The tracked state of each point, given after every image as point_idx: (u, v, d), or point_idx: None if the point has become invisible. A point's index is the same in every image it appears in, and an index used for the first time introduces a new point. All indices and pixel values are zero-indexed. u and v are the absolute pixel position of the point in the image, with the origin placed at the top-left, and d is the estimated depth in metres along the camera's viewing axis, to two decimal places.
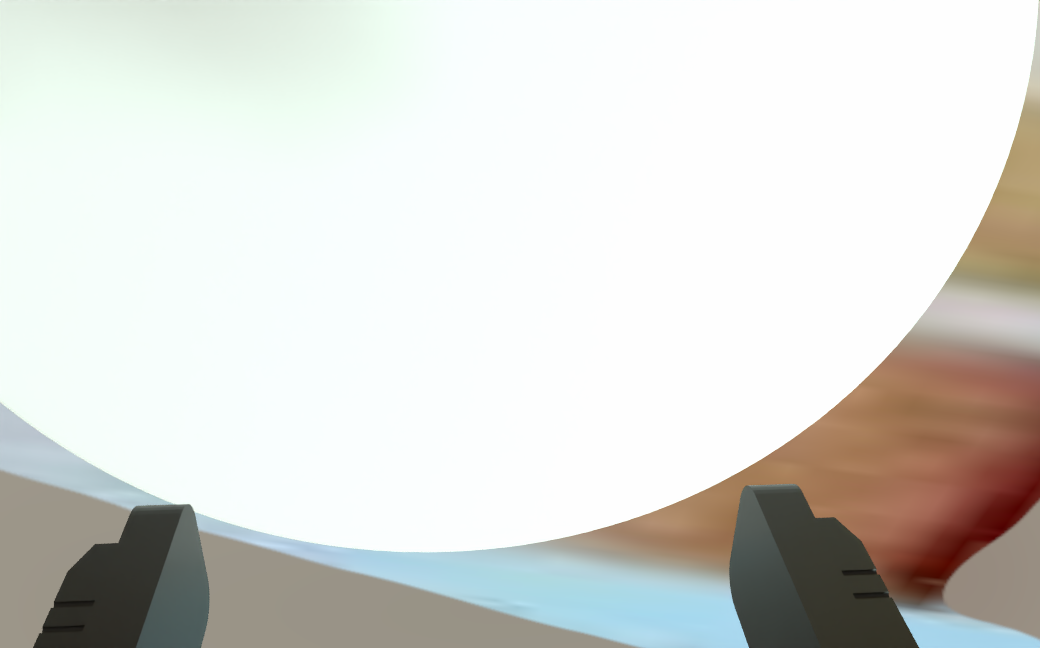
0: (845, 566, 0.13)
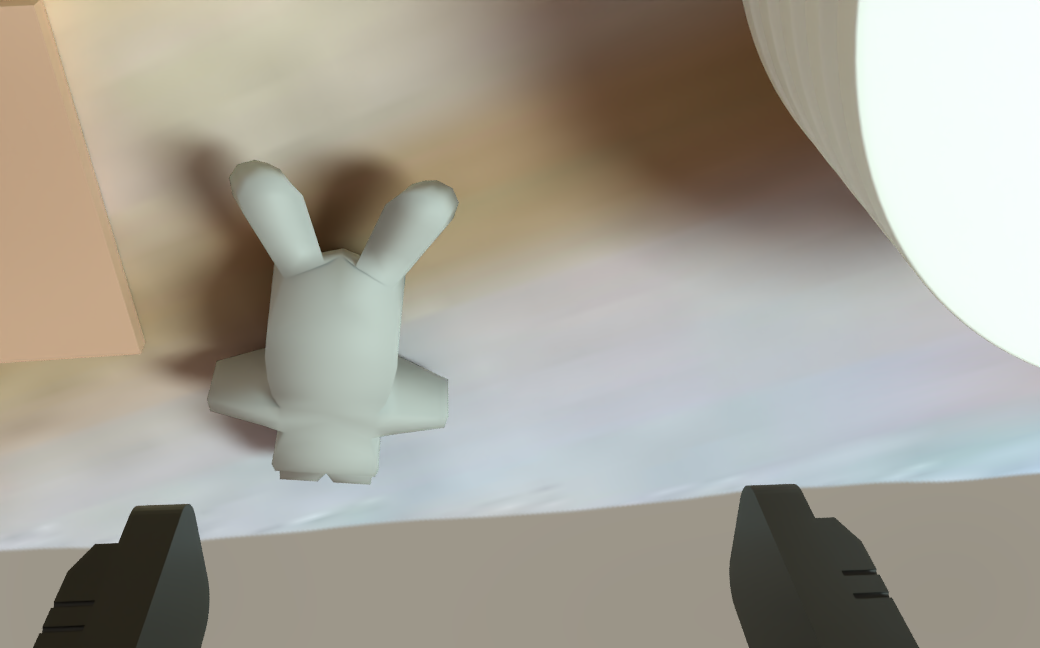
0: (845, 566, 0.13)
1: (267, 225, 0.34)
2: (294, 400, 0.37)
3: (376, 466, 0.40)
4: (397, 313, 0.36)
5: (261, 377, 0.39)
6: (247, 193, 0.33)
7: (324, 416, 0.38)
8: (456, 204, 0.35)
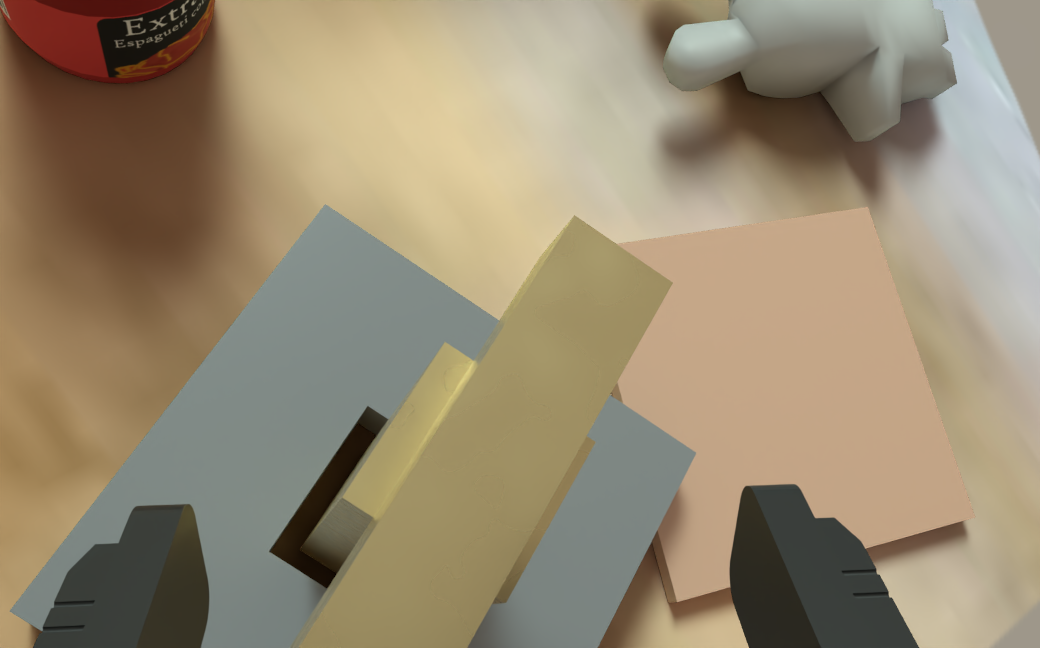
0: (845, 566, 0.13)
1: (715, 51, 0.40)
2: (867, 29, 0.41)
3: None
4: None
5: (857, 88, 0.43)
6: (691, 59, 0.39)
7: (878, 14, 0.42)
8: None
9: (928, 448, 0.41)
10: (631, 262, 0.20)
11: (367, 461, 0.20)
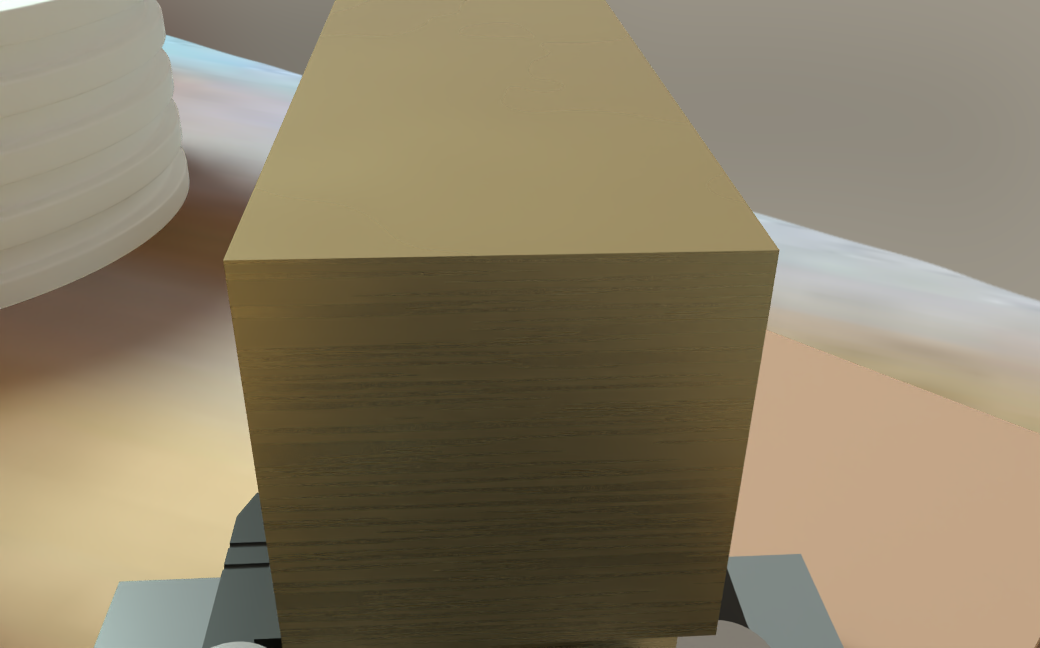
0: None
1: None
2: None
3: None
4: None
5: None
6: None
7: None
8: None
9: (1010, 441, 0.31)
10: None
11: None
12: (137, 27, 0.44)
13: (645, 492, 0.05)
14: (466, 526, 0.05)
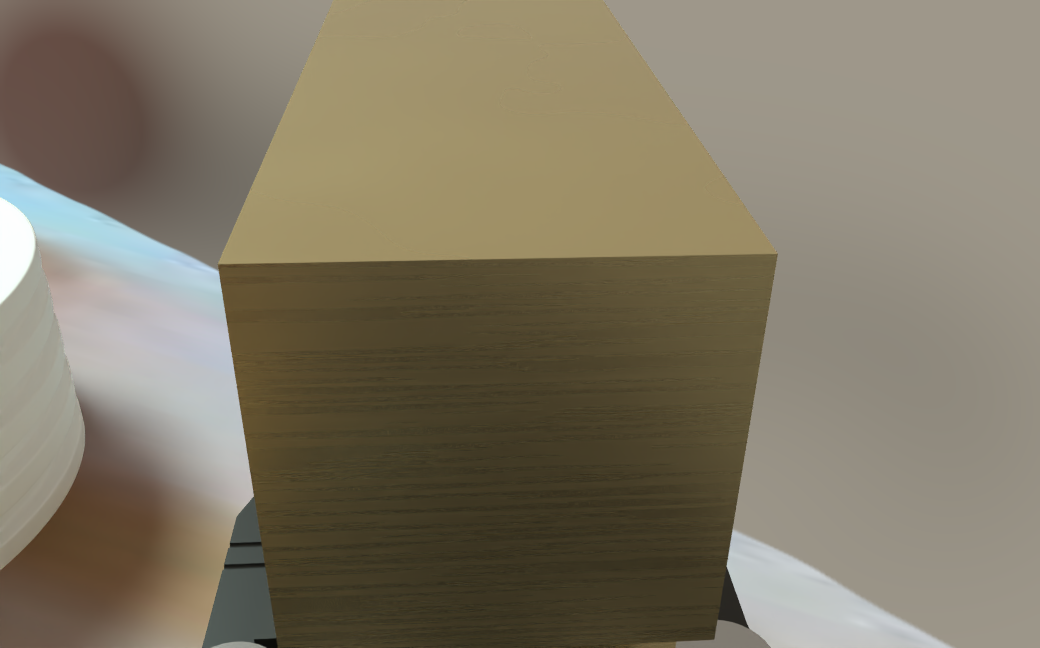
0: None
1: None
2: None
3: None
4: None
5: None
6: None
7: None
8: None
9: None
10: None
11: None
12: (16, 336, 0.44)
13: (643, 496, 0.05)
14: (463, 530, 0.05)
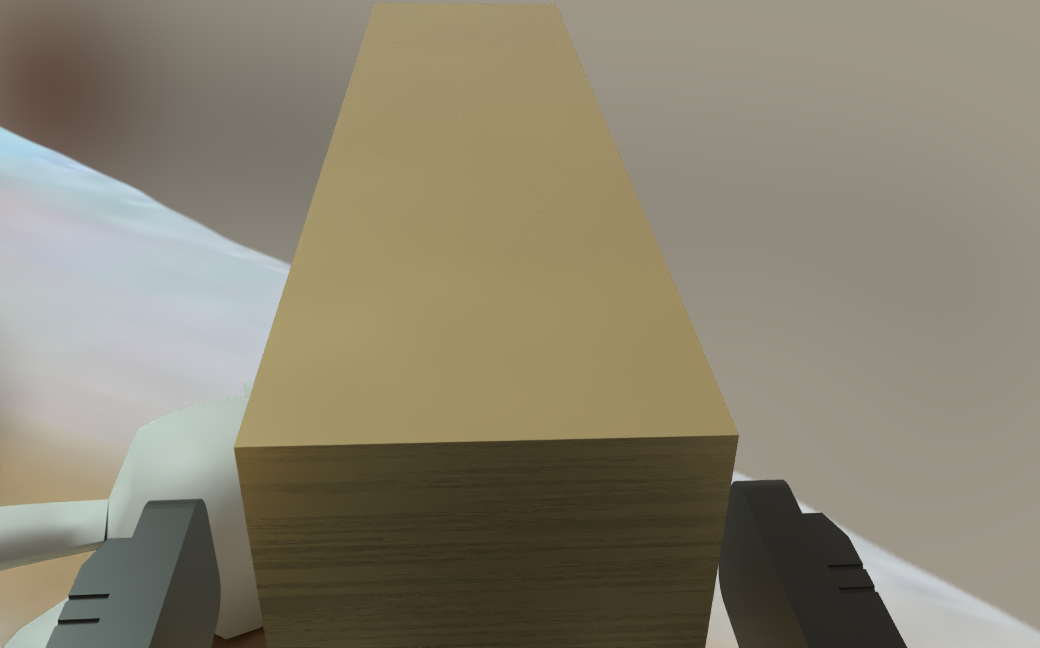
0: (831, 561, 0.13)
1: None
2: None
3: None
4: None
5: None
6: None
7: None
8: None
9: None
10: (485, 6, 0.13)
11: None
12: None
13: (619, 634, 0.06)
14: None
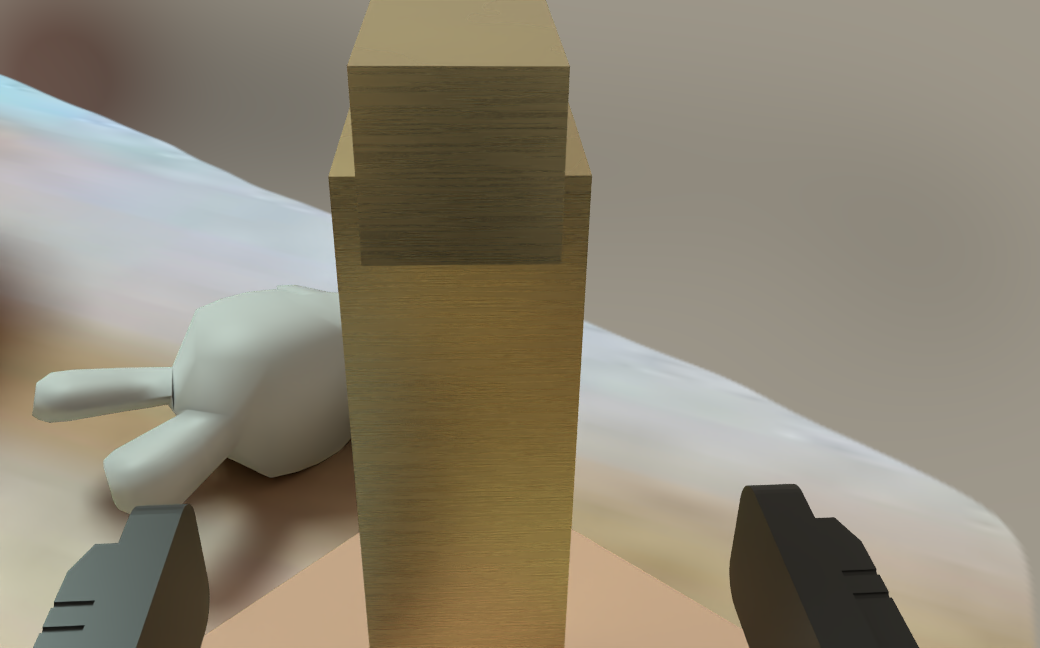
0: (845, 566, 0.13)
1: (171, 447, 0.29)
2: (334, 324, 0.33)
3: None
4: (182, 342, 0.33)
5: None
6: (140, 470, 0.27)
7: None
8: None
9: None
10: None
11: (336, 155, 0.15)
12: None
13: (522, 182, 0.12)
14: (444, 197, 0.12)
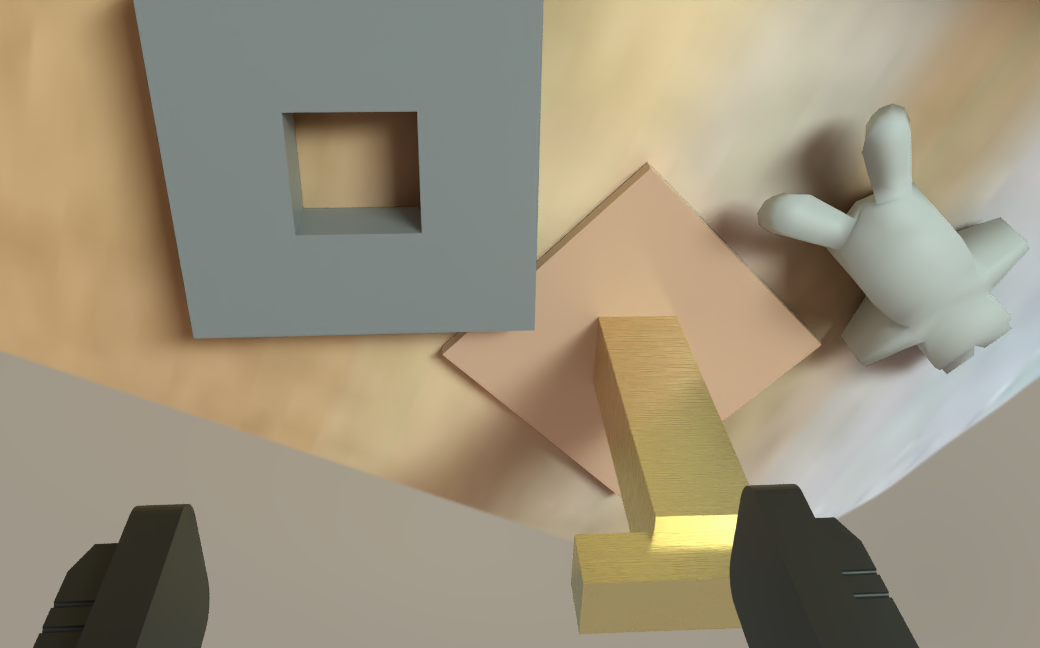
0: (845, 566, 0.13)
1: (805, 229, 0.44)
2: (913, 315, 0.46)
3: (1006, 312, 0.47)
4: (929, 207, 0.44)
5: (878, 320, 0.49)
6: (779, 222, 0.44)
7: (942, 308, 0.46)
8: (904, 110, 0.43)
9: None
10: None
11: (679, 516, 0.36)
12: None
13: (575, 595, 0.36)
14: (576, 572, 0.36)
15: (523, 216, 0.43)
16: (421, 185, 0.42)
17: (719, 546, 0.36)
